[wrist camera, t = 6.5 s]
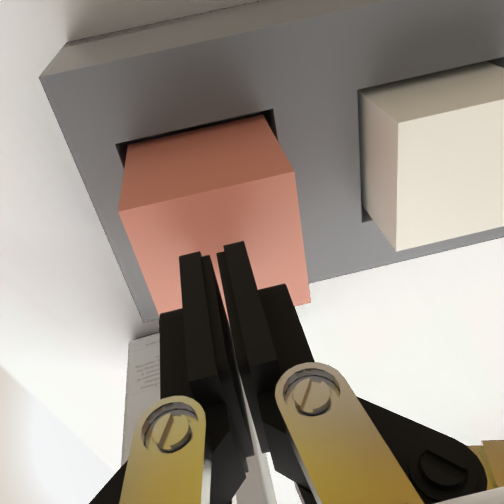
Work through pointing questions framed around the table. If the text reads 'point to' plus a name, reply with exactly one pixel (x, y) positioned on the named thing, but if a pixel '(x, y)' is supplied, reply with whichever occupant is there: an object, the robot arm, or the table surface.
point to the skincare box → (148, 392)
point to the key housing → (265, 103)
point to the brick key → (213, 207)
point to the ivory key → (433, 154)
